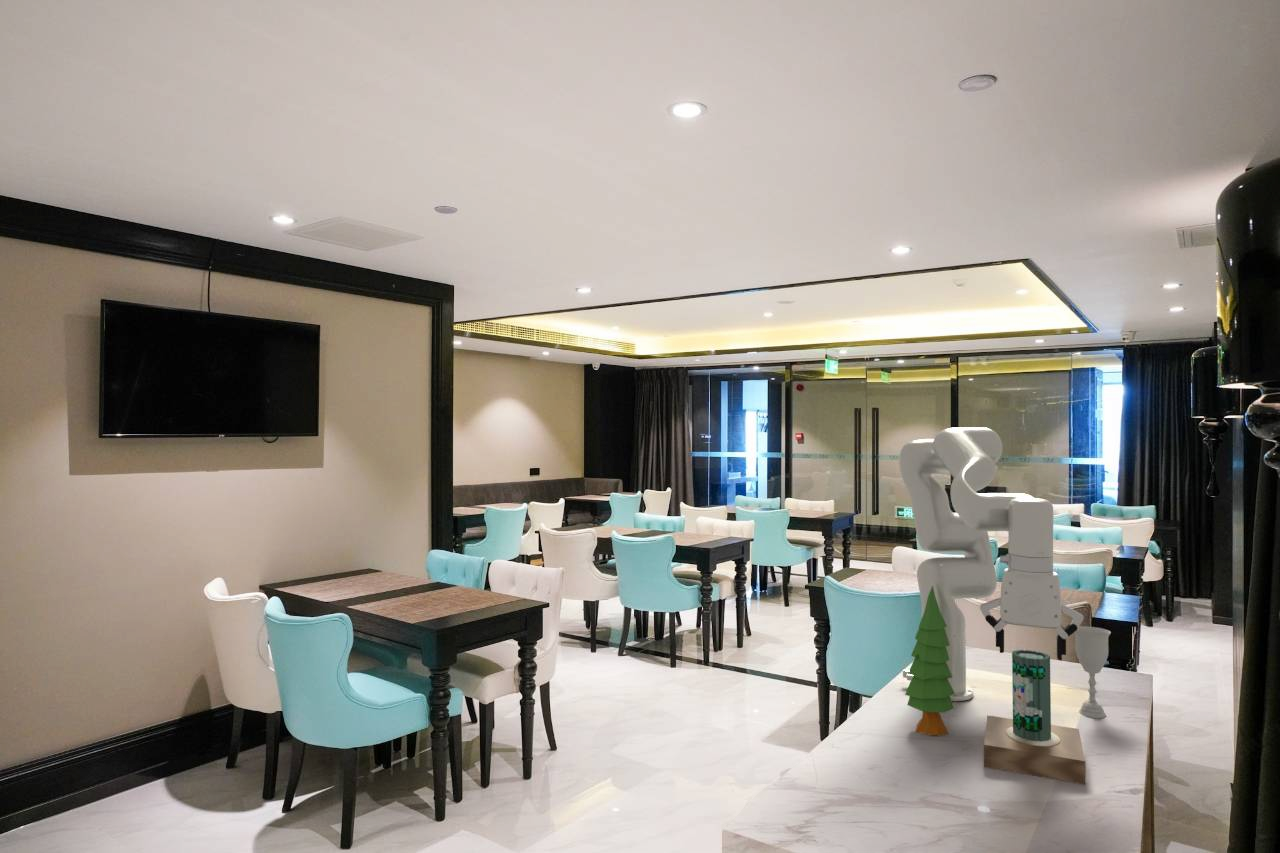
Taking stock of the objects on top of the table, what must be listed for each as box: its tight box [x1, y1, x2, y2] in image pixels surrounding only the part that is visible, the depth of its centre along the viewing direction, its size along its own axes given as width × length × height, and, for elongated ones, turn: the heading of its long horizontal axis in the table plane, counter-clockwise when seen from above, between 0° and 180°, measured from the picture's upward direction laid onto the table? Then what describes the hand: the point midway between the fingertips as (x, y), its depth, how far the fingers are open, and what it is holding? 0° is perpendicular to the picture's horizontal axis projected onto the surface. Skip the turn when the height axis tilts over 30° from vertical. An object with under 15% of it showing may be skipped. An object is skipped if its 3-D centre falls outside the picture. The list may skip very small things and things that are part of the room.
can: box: [1011, 649, 1052, 742], centre depth 142 cm, size 6×6×15 cm
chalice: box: [1074, 625, 1112, 719], centre depth 164 cm, size 7×7×18 cm
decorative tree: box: [904, 585, 955, 737], centre depth 155 cm, size 10×9×30 cm
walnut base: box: [983, 714, 1087, 785], centre depth 141 cm, size 16×16×4 cm
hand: (1030, 654), depth 142 cm, fingers open, 9 cm apart
